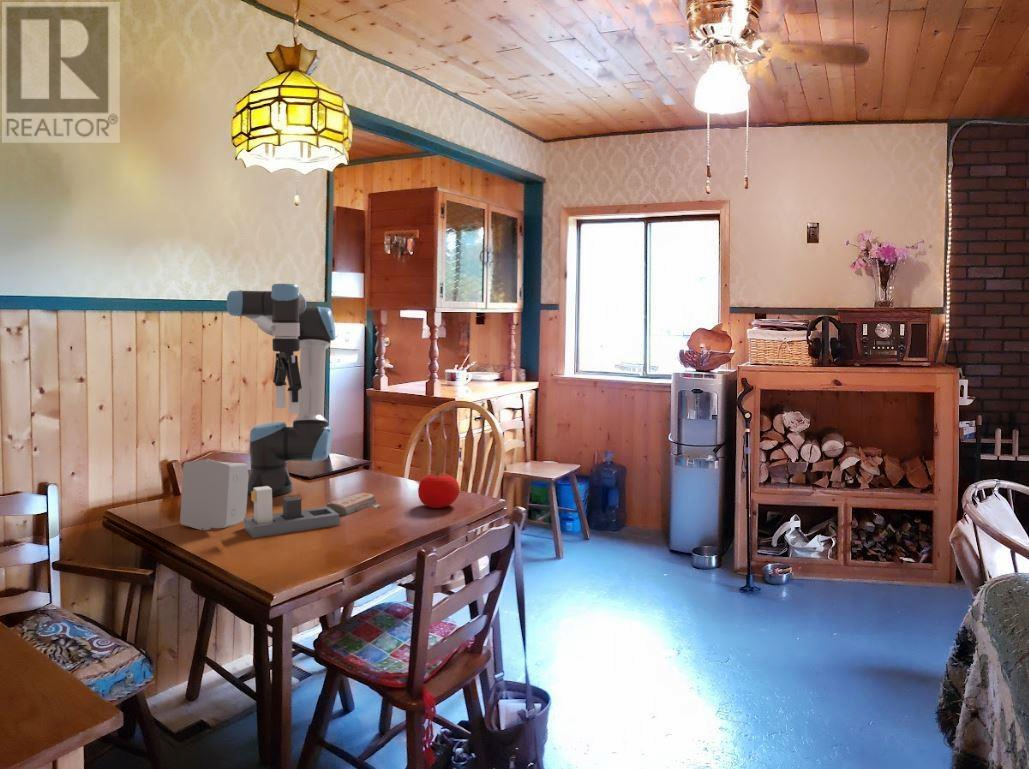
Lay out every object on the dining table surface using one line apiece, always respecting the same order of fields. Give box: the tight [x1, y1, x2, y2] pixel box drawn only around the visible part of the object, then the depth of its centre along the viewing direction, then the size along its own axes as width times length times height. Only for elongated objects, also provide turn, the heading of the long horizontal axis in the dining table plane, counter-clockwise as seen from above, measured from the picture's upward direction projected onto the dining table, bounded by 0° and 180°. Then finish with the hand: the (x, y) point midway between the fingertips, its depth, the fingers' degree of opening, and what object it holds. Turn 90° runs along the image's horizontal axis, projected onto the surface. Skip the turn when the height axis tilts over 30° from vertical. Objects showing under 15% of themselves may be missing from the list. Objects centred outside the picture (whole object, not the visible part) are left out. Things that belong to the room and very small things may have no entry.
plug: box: [250, 486, 273, 524], centre depth 208 cm, size 4×5×12 cm
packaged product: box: [326, 492, 382, 516], centre depth 233 cm, size 18×5×10 cm
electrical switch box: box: [179, 458, 249, 531], centre depth 220 cm, size 15×15×20 cm
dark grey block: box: [282, 496, 302, 520], centre depth 213 cm, size 4×4×8 cm
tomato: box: [417, 472, 460, 509], centre depth 240 cm, size 12×13×11 cm
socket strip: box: [243, 506, 341, 539], centre depth 213 cm, size 10×24×4 cm, turn 123°
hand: (287, 410), depth 220 cm, fingers open, 13 cm apart
